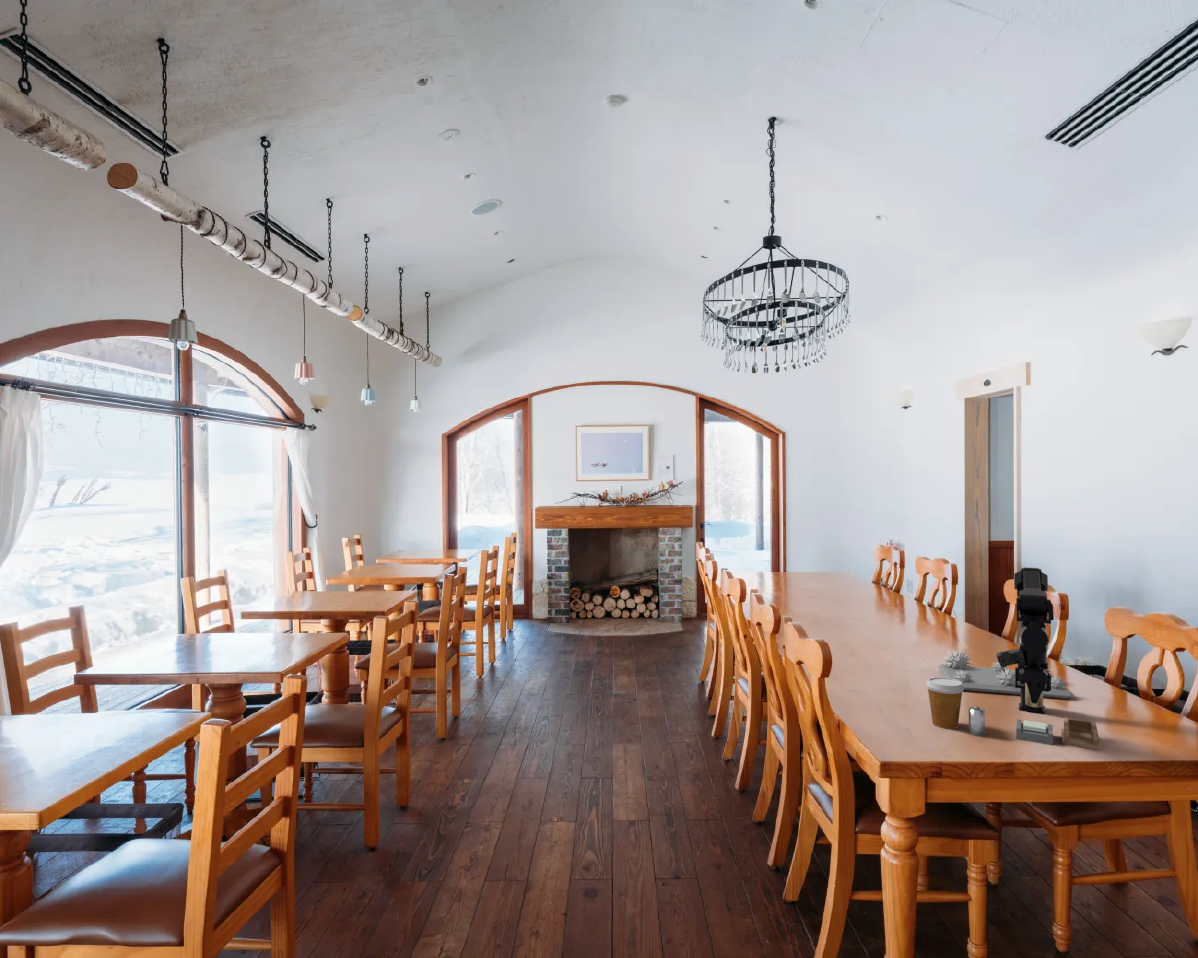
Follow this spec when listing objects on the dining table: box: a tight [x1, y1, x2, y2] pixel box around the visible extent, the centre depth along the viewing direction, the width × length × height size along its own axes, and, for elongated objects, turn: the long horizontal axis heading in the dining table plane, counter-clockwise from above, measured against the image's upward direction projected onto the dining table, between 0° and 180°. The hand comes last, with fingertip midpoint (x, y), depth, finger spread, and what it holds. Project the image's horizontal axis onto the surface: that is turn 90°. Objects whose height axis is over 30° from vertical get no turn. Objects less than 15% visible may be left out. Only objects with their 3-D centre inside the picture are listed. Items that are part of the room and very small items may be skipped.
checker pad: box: [1022, 719, 1047, 733], centre depth 182 cm, size 5×5×1 cm
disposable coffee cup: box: [925, 676, 965, 730], centre depth 192 cm, size 10×10×12 cm
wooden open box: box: [1061, 717, 1102, 751], centre depth 180 cm, size 10×8×4 cm
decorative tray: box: [937, 648, 1075, 700], centre depth 230 cm, size 35×26×10 cm
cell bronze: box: [1025, 683, 1044, 707], centre depth 183 cm, size 4×4×7 cm
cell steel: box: [968, 705, 986, 737], centre depth 185 cm, size 4×4×7 cm
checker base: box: [1015, 718, 1054, 746], centre depth 182 cm, size 8×8×3 cm
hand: (1034, 701), depth 183 cm, fingers closed on cell bronze, 4 cm apart
